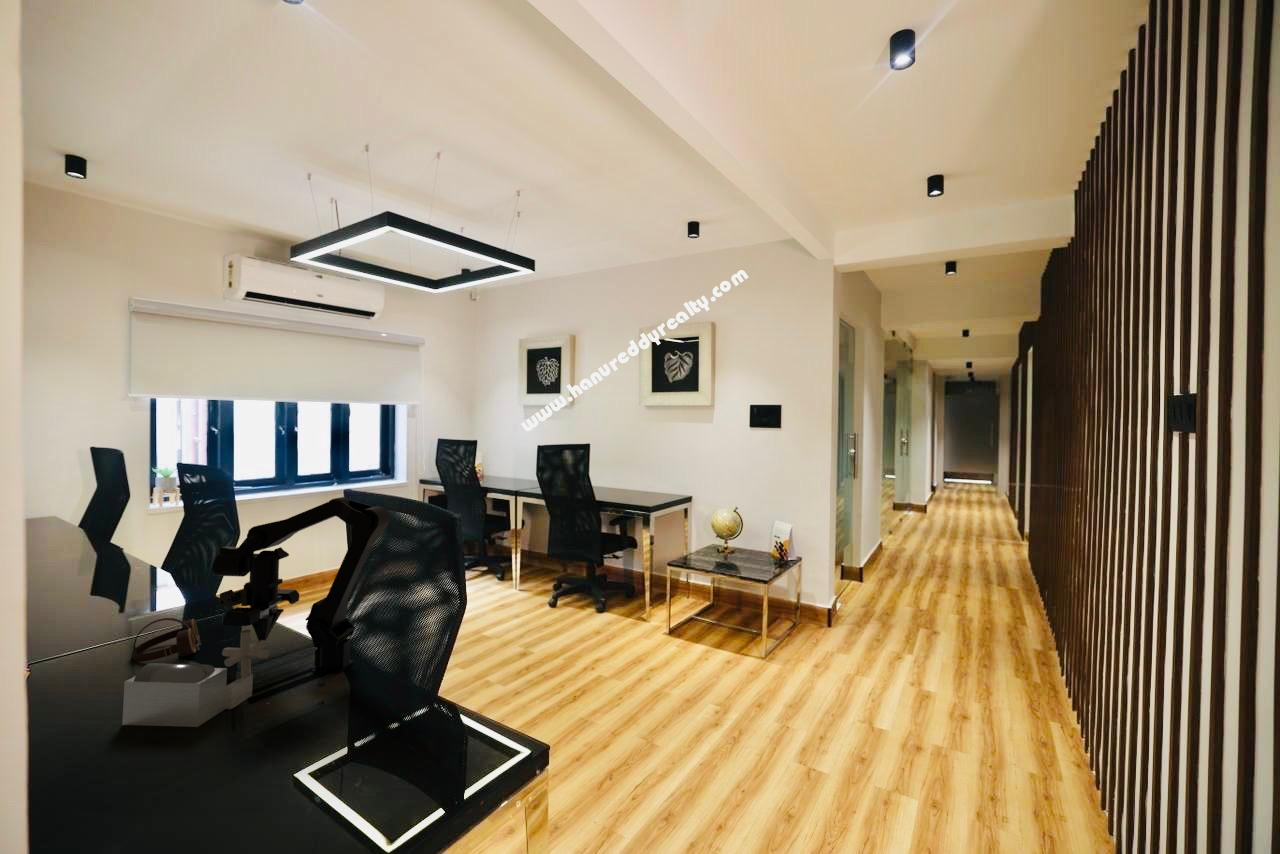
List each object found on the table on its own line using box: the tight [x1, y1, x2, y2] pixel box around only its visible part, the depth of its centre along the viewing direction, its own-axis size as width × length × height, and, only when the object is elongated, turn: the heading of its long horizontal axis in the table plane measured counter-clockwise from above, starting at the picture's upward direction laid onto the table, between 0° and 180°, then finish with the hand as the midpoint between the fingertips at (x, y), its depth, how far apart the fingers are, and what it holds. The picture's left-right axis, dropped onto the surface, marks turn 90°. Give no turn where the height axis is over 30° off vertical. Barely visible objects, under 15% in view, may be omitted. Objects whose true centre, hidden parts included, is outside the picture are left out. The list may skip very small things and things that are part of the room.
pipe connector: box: [221, 629, 270, 677], centre depth 127 cm, size 10×10×10 cm
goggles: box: [131, 617, 202, 663], centre depth 139 cm, size 15×13×10 cm
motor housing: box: [121, 662, 254, 728], centre depth 111 cm, size 17×13×10 cm
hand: (262, 642), depth 133 cm, fingers closed
